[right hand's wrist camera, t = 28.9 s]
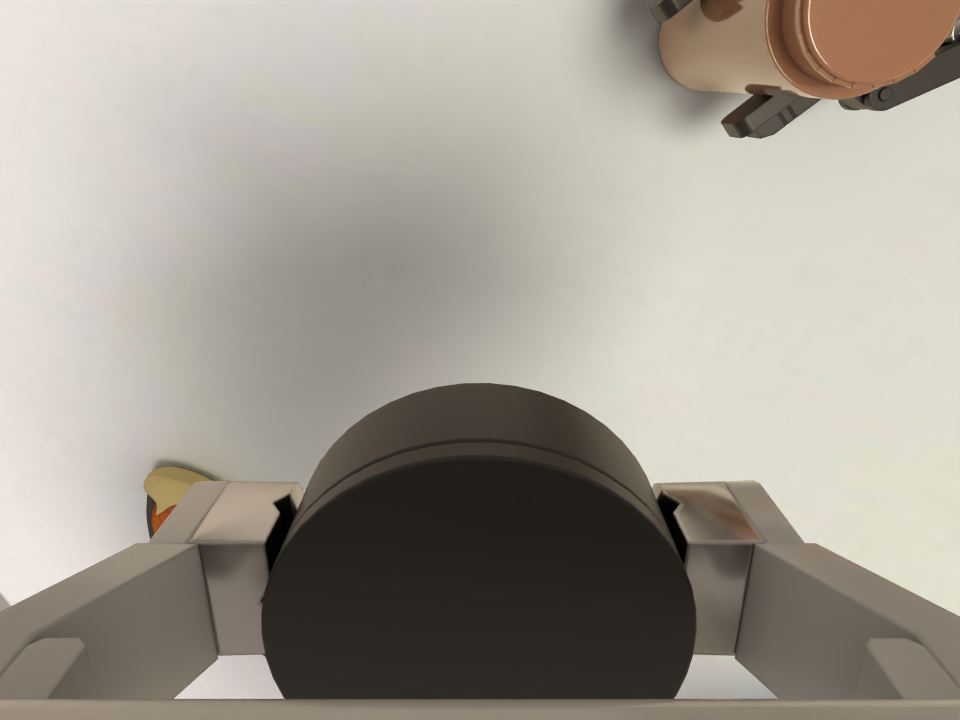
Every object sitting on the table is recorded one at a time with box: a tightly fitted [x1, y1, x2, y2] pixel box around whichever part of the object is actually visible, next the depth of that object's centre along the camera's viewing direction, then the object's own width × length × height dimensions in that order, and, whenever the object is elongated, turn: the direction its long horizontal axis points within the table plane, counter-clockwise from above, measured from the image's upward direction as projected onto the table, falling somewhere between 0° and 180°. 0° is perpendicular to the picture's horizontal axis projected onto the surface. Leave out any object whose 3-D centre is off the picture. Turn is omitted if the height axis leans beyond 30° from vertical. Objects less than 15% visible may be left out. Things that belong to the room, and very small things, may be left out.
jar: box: [659, 0, 960, 99], centre depth 25 cm, size 5×5×16 cm
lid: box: [261, 383, 697, 699], centre depth 9 cm, size 5×5×2 cm
